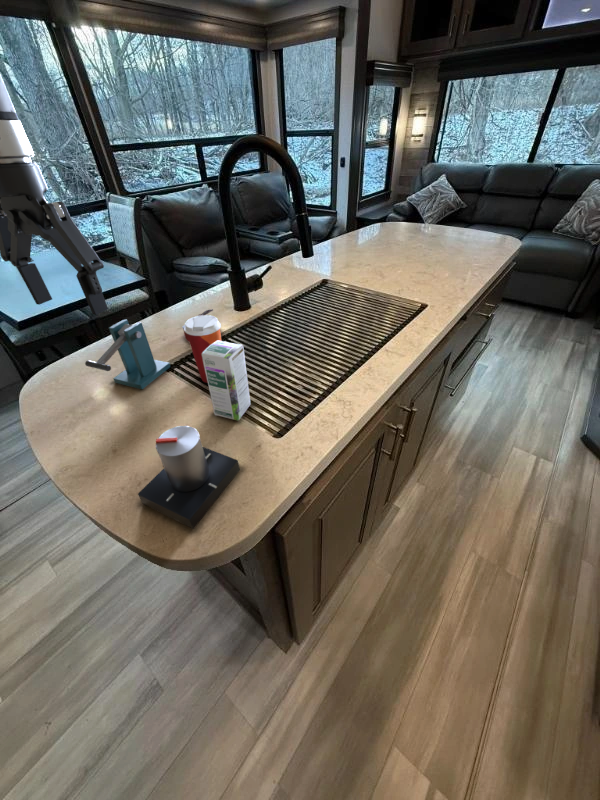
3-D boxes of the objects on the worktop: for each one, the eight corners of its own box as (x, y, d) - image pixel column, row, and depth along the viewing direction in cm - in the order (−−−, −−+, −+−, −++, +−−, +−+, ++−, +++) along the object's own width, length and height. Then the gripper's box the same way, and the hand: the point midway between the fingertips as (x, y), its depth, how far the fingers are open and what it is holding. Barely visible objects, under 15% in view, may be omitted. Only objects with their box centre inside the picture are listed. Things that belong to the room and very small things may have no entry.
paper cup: (226, 386, 75) (215, 329, 66) (192, 386, 75) (177, 329, 67) (232, 367, 81) (223, 313, 73) (201, 367, 81) (188, 313, 73)
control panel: (193, 529, 48) (189, 519, 46) (141, 503, 51) (136, 493, 50) (240, 470, 56) (238, 459, 54) (193, 451, 60) (189, 440, 58)
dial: (211, 460, 55) (201, 422, 49) (206, 490, 50) (195, 452, 45) (174, 462, 54) (160, 425, 49) (166, 493, 49) (149, 456, 44)
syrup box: (213, 415, 67) (199, 353, 58) (228, 398, 71) (217, 338, 62) (238, 421, 66) (227, 358, 57) (252, 404, 70) (243, 343, 61)
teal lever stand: (142, 389, 74) (122, 338, 66) (114, 382, 77) (92, 332, 69) (170, 366, 82) (155, 318, 74) (144, 361, 84) (127, 313, 76)
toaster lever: (109, 374, 67) (102, 366, 65) (89, 369, 68) (82, 361, 67) (144, 334, 73) (139, 326, 71) (125, 330, 75) (119, 322, 73)
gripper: (-82, 162, 47) (3, 305, 60) (43, 163, 40) (109, 325, 53) (-26, 159, 53) (41, 291, 66) (93, 159, 45) (141, 307, 59)
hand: (71, 306), depth 59 cm, fingers open, 13 cm apart
